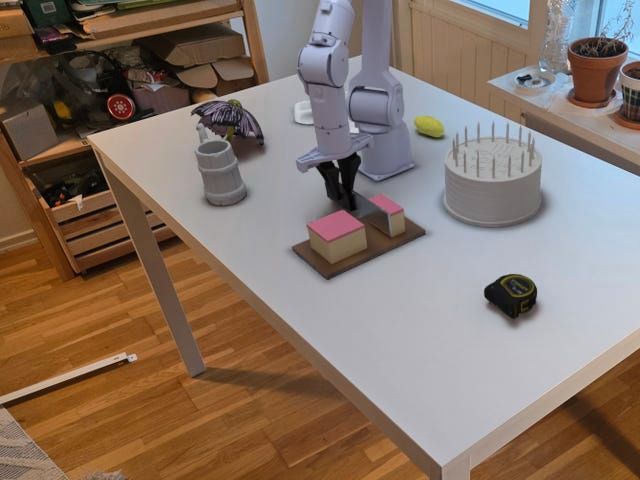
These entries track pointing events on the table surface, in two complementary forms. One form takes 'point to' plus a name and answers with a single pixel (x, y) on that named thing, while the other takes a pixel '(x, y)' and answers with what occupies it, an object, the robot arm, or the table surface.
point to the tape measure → (512, 294)
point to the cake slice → (391, 214)
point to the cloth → (305, 115)
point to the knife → (362, 207)
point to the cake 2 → (492, 180)
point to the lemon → (429, 126)
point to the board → (375, 247)
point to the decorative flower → (228, 120)
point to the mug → (219, 170)
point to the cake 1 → (337, 236)
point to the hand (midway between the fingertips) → (342, 195)
